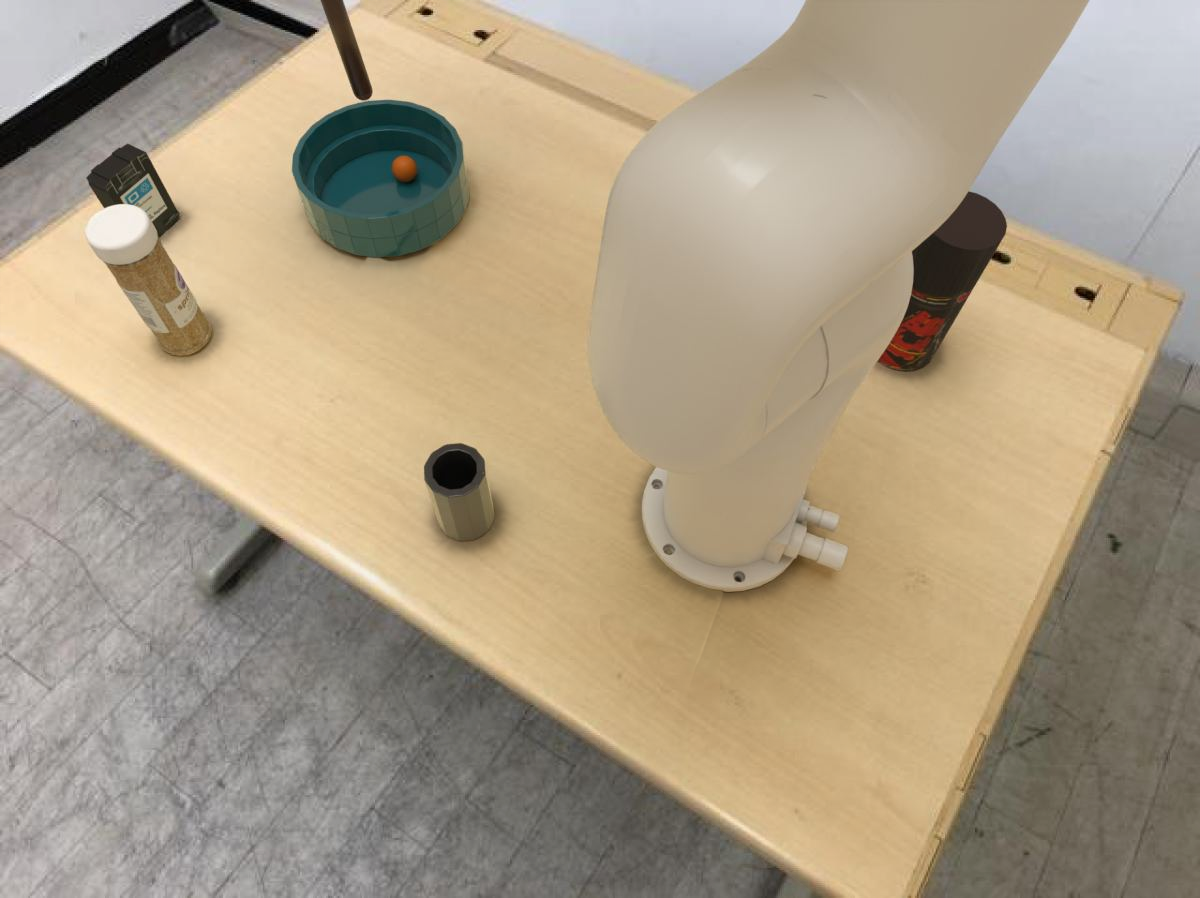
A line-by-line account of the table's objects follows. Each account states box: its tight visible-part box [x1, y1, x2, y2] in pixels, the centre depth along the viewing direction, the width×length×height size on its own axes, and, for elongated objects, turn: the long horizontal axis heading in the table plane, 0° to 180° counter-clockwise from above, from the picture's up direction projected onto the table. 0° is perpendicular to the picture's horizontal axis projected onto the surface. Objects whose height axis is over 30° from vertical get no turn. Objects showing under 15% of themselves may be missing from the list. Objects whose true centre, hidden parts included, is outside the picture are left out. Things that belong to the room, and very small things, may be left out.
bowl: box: [291, 99, 470, 258], centre depth 82 cm, size 15×15×6 cm
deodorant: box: [877, 190, 1008, 372], centre depth 71 cm, size 6×6×15 cm
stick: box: [320, 0, 374, 102], centre depth 67 cm, size 2×2×16 cm
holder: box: [423, 442, 495, 542], centre depth 64 cm, size 4×4×8 cm
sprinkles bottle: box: [84, 204, 213, 357], centre depth 70 cm, size 5×5×14 cm
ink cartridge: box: [85, 143, 181, 239], centre depth 78 cm, size 5×2×8 cm, turn 150°
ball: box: [392, 156, 418, 182], centre depth 84 cm, size 2×2×2 cm
